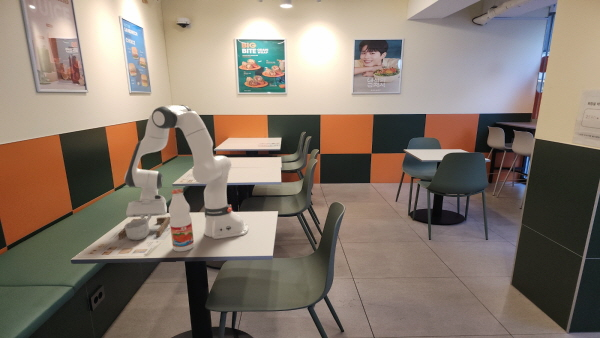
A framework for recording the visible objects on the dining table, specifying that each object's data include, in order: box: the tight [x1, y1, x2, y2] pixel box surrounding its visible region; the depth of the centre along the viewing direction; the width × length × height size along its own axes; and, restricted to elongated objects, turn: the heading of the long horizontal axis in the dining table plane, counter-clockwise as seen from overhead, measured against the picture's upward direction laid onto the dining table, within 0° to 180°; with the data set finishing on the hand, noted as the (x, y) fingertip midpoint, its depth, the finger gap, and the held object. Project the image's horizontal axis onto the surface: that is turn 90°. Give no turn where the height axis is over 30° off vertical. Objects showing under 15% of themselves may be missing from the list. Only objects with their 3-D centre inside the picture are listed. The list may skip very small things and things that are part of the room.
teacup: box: [123, 217, 150, 241], centre depth 168 cm, size 14×11×8 cm
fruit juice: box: [168, 188, 195, 253], centre depth 152 cm, size 9×9×28 cm
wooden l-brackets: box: [117, 216, 171, 240], centre depth 177 cm, size 20×20×3 cm
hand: (144, 223), depth 175 cm, fingers closed, pressing on teacup
